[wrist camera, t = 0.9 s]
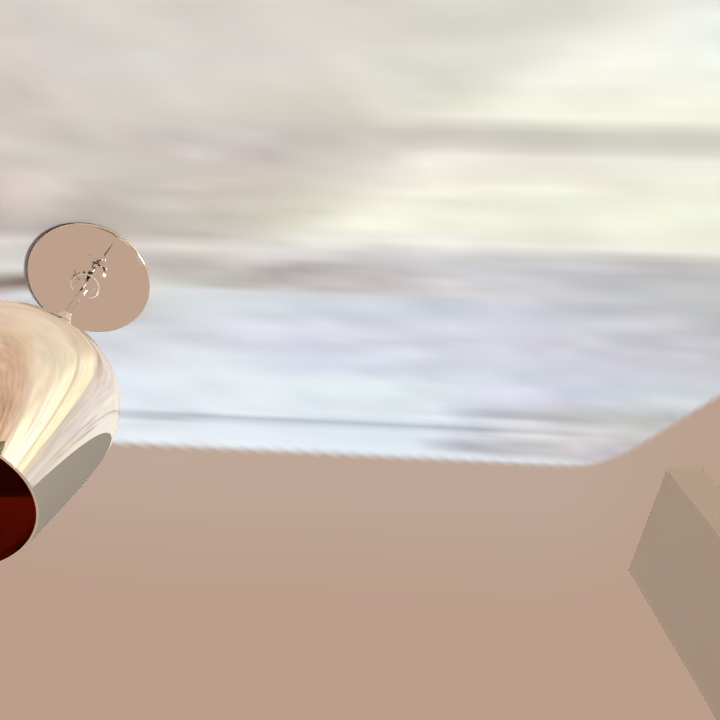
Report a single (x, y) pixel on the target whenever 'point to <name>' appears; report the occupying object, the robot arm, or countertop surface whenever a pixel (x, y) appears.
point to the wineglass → (61, 373)
